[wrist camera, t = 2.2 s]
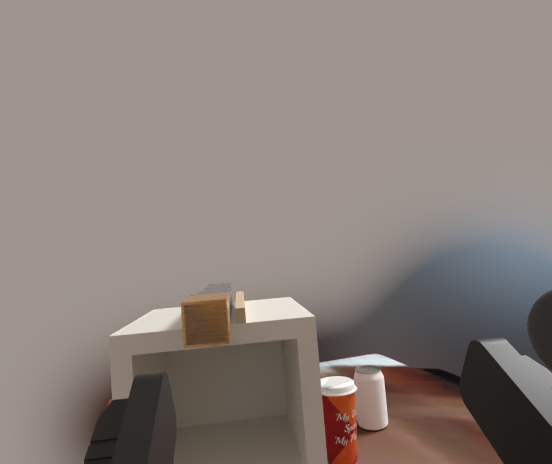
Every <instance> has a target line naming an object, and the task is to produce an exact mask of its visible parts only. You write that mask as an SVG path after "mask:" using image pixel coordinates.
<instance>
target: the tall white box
mask: <svg viewBox="0 0 552 464" xmlns="http://www.w3.org/2000/svg"><path fill="white" fill-rule="evenodd" d="M232 304H233V305H232V312H231V318H230V320H231V336H230V344H225V345H215V346H205V347H195V348H185V349H184V343H183V328H182V313H181V307H176V308H165V309H156V310H155V309H154V310H152V311H151V312H149V313H148V314H146V315H144V316H142V317H141V318H139V319H137V320H136V321H134V322H132V323H130V324H129V325H127V326H125V327H124V328H122V329H120V330H119V331H117V332H115V333H114V334H112V335H110V336H109V348H110V367H111V384H112V400H117V399H126V398H128V397H129V393H130V390H131V386H132V382H133V379H134V377H135V375H139V374H149V373H158V372H167V374H168V377H169V382H170V387H171V392H172V397H173V402H174V407H175V413H176V424H177V432H176V444H175V452H174V461H173V464H328V460H327V449H326V437H325V426H324V414H323V402H322V391H321V379H320V368H319V356H318V344H317V334H316V321H315V316H314V315H313V314H311V313H310V312H309V311H307V310H306V309H305V308H304V307H302V306H301V305H300V304H298V303H297V302H296V301H295V300H293V299H292V298H291V297H285V298H274V299H263V300H252V301H244V293H243V291H240V292H237V293H236V302H232Z"/></svg>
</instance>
